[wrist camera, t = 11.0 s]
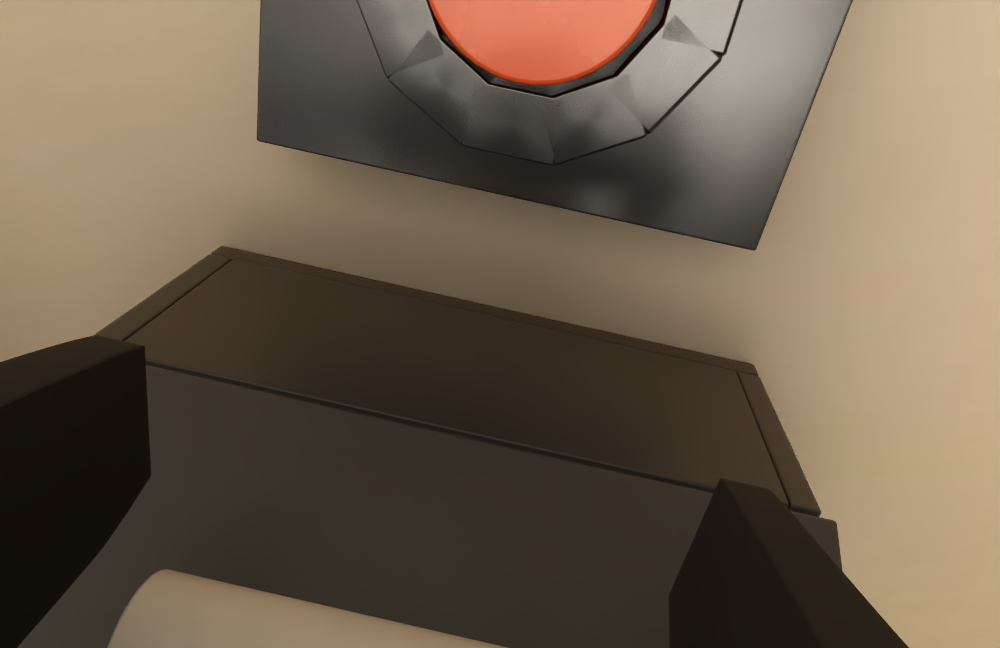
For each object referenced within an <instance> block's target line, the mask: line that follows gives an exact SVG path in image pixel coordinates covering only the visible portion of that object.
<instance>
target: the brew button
mask: <svg viewBox="0 0 1000 648" xmlns="http://www.w3.org/2000/svg"><path fill="white" fill-rule="evenodd" d="M428 1H429V3H430V6H431V8H432V10H433V13H434V15H435V17H436V19H437V21H438V22H439V24H440V26H441V28H442V30H443V31H444V32H445V34H446V35H447V36H448V38H449V39H450V41H451V42H452V43H453V44H454V45H455V46H456V47H457V49H458V50H459V51H460V52H461V53H462V54H463V55H464V56H466V57H467V58H468V59H469V60H470V61H472V62H473V63H474V64H475V65H477V66H478V67H480V68H482V69H483V70H485V71H487V72H488V73H490V74H492V75H495V76H497V77H499V78H501V79H504V80H508V81H511V82H514V83H518V84H525V85H533V86H548V85H556V84H563V83H566V82H570V81H574V80H577V79H580V78H582V77H585V76H587V75H589V74H592V73H593V72H595V71H597V70H598V69H600V68H602V67H604V66H605V65H607V64H608V63H609V62H611V61H612V60H613V59H615V58H616V57H617V56H618V55H619V54H620V53H621V52H623V51H624V50H625V49H626V48H627V47H628V46H629V45H630V44H631V42H632V41H633V40H634V39H635V37H636V36H637V35H638V34H639V32H640V31H641V30H642V28H643V27H644V25H645V23H646V22H647V20H648V18H649V17H650V15H651V13H652V11H653V9H654V7H655V5H656V2H657V0H428Z"/></svg>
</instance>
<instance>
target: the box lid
mask: <svg viewBox="0 0 1000 648" xmlns="http://www.w3.org/2000/svg"><path fill="white" fill-rule="evenodd" d="M146 381H147V401H148V421H149V441H150V461H151V477H150V478H149V480H148V481H147V483H146V484H145V486H144V488H143V489H142V491H141V492H140V494H139V495H138V497H137V499H136V500H135V502H134V503H133V505H132V506H131V508H130V509H129V511H128V513H127V514H126V516H125V517H124V518H123V520H122V521H121V523H120V524H119V526H118V527H117V529H116V530H115V532H114V533H113V534H112V536H111V537H110V539H109V540H108V542H107V543H106V545H105V546H104V547H103V548H102V550H101V551H100V552H99V553H98V554H97V556H96V557H95V558H94V559H93V560H92V562H91V563H90V564H89V565H88V566H87V567H86V569H85V570H84V571H83V572H82V573H81V574H80V576H79V577H78V578H77V579H76V580H75V581H74V583H73V584H72V585H71V586H70V587H69V588H68V590H67V591H66V592H65V593H64V594H63V595H62V597H61V598H60V599H59V600H58V601H57V603H56V604H55V605H54V606H53V607H52V608H51V609H50V611H49V612H48V613H47V614H46V615H45V616H44V617H43V619H42V620H41V621H40V622H39V623H38V624H37V625H36V627H35V628H34V629H33V630H32V631H31V632H30V634H29V635H28V636H27V637H26V638H25V639H24V640H23V642H22V643H21V644H20V645H19V646H18V647H17V648H670V642H669V593H670V591H671V589H672V587H673V584H674V582H675V580H676V577H677V575H678V573H679V571H680V568H681V566H682V564H683V562H684V559H685V557H686V555H687V552H688V550H689V548H690V546H691V543H692V541H693V539H694V536H695V534H696V532H697V530H698V527H699V525H700V523H701V521H702V518H703V516H704V514H705V511H706V509H707V507H708V505H709V502H710V500H711V498H712V496H713V493H709V492H705V491H700V490H696V489H692V488H687V487H683V486H678V485H674V484H669V483H665V482H661V481H656V480H652V479H647V478H643V477H639V476H634V475H630V474H625V473H621V472H616V471H612V470H608V469H603V468H599V467H594V466H590V465H586V464H581V463H577V462H572V461H568V460H563V459H559V458H555V457H550V456H546V455H541V454H537V453H533V452H528V451H524V450H519V449H515V448H510V447H506V446H502V445H497V444H493V443H488V442H484V441H479V440H475V439H471V438H466V437H462V436H457V435H453V434H449V433H444V432H440V431H435V430H431V429H426V428H422V427H418V426H413V425H409V424H404V423H400V422H396V421H391V420H387V419H382V418H378V417H373V416H369V415H365V414H360V413H356V412H351V411H347V410H343V409H338V408H334V407H329V406H325V405H320V404H316V403H312V402H307V401H303V400H298V399H294V398H289V397H285V396H281V395H276V394H272V393H267V392H263V391H259V390H254V389H250V388H245V387H241V386H236V385H232V384H228V383H223V382H219V381H214V380H210V379H206V378H201V377H197V376H192V375H188V374H183V373H179V372H175V371H170V370H166V369H161V368H157V367H153V366H148V365H146ZM791 512H792V514H793V515H794V516H795V517H796V518H797V519H798V520H799V522H800V523H801V524H802V525H803V526H804V527H805V529H806V530H807V531H808V532H809V533H810V534H811V535H812V537H813V538H814V539H815V540H816V541H817V542H818V544H819V545H820V546H821V547H822V548H823V550H824V551H825V552H826V553H827V554H828V555H829V557H830V558H831V559H832V560H833V561H834V562H835V564H836V565H837V566H838V567H839V568H840V569H841V571H842V564H841V556H840V548H839V539H838V531H837V524H836V522H835V521H833V520H829V519H824V518H820V517H815V516H811V515H806V514H802V513H798V512H793V511H791Z"/></svg>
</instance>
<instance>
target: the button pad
mask: <svg viewBox="0 0 1000 648" xmlns="http://www.w3.org/2000/svg"><path fill="white" fill-rule="evenodd" d="M852 1H853V0H657V2H656V5H655V7H654V9H653V11H652V13H651V15H650V17H649V18H648V20H647V22H646V23H645V25H644V27H643V28H642V30H641V31H640V32H639V34H638V35H637V36H636V37H635V39H634V40H633V41H632V42H631V44H630V45H629V46H628V47H627V48H626V49H625V50H624V51H623V52H621V53H620V54H619V55H618V56H617V57H616V58H615V59H613V60H612V61H611V62H609V63H608V64H607V65H605V66H604V67H602V68H600V69H598V70H597V71H595V72H593V73H592V74H589V75H587V76H585V77H582V78H580V79H577V80H574V81H570V82H566V83H563V84H556V85H548V86H533V85H525V84H518V83H514V82H511V81H508V80H504V79H501V78H499V77H497V76H495V75H492V74H490V73H488V72H487V71H485V70H483V69H482V68H480V67H478V66H477V65H475V64H474V63H473V62H472V61H470V60H469V59H468V58H467V57H466V56H464V55H463V54H462V53H461V52H460V51H459V50H458V49H457V47H456V46H455V45H454V44H453V43H452V42H451V41H450V39H449V38H448V36H447V35H446V34H445V32H444V31H443V30H442V28H441V26H440V24H439V22H438V21H437V19H436V17H435V15H434V13H433V10H432V8H431V6H430V3H429V1H428V0H261V8H260V44H259V80H258V116H257V140H258V141H260V142H265V143H269V144H274V145H278V146H283V147H287V148H292V149H296V150H301V151H305V152H310V153H315V154H319V155H324V156H328V157H333V158H337V159H342V160H346V161H351V162H355V163H360V164H364V165H369V166H373V167H378V168H382V169H387V170H391V171H396V172H401V173H405V174H410V175H414V176H419V177H423V178H428V179H432V180H437V181H441V182H446V183H450V184H455V185H459V186H464V187H468V188H473V189H477V190H482V191H487V192H491V193H496V194H500V195H505V196H509V197H514V198H518V199H523V200H527V201H532V202H536V203H541V204H545V205H550V206H554V207H559V208H563V209H568V210H573V211H577V212H582V213H586V214H591V215H595V216H600V217H604V218H609V219H613V220H618V221H622V222H627V223H631V224H636V225H640V226H645V227H649V228H654V229H659V230H663V231H668V232H672V233H677V234H681V235H686V236H690V237H695V238H699V239H704V240H708V241H713V242H717V243H722V244H726V245H731V246H735V247H740V248H745V249H749V250H756V248H757V246H758V243H759V240H760V238H761V235H762V233H763V230H764V227H765V225H766V222H767V220H768V217H769V215H770V212H771V209H772V207H773V204H774V202H775V199H776V197H777V194H778V191H779V189H780V186H781V184H782V181H783V179H784V176H785V173H786V171H787V168H788V166H789V163H790V161H791V158H792V155H793V153H794V150H795V148H796V145H797V143H798V140H799V137H800V135H801V132H802V130H803V127H804V125H805V122H806V119H807V117H808V114H809V112H810V109H811V107H812V104H813V101H814V99H815V96H816V94H817V91H818V89H819V86H820V83H821V81H822V78H823V76H824V73H825V70H826V68H827V65H828V63H829V60H830V58H831V55H832V52H833V50H834V47H835V45H836V42H837V40H838V37H839V34H840V32H841V29H842V27H843V24H844V22H845V19H846V16H847V14H848V11H849V9H850V6H851V4H852Z"/></svg>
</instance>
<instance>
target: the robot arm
mask: <svg viewBox="0 0 1000 648" xmlns="http://www.w3.org/2000/svg"><path fill="white" fill-rule="evenodd" d="M150 477H151V461H150V441H149V421H148V401H147V381H146V361H145V346H143V345H139V344H134V343H130V342H126V341H121V340H117V339H112V338H108V337H104V336H99V335H94V336H90V337H86V338H81V339H77V340H73V341H69V342H66V343H62V344H59V345H55V346H52V347H48V348H45V349H41V350H38V351H35V352H31V353H28V354H25V355H22V356H19V357H15V358H12V359H9V360H6V361H3V362H0V648H17V647H18V646H19V645H20V644H21V643H22V642H23V640H24V639H25V638H26V637H27V636H28V635H29V634H30V632H31V631H32V630H33V629H34V628H35V627H36V625H37V624H38V623H39V622H40V621H41V620H42V619H43V617H44V616H45V615H46V614H47V613H48V612H49V611H50V609H51V608H52V607H53V606H54V605H55V604H56V603H57V601H58V600H59V599H60V598H61V597H62V595H63V594H64V593H65V592H66V591H67V590H68V588H69V587H70V586H71V585H72V584H73V583H74V581H75V580H76V579H77V578H78V577H79V576H80V574H81V573H82V572H83V571H84V570H85V569H86V567H87V566H88V565H89V564H90V563H91V562H92V560H93V559H94V558H95V557H96V556H97V554H98V553H99V552H100V551H101V550H102V548H103V547H104V546H105V545H106V543H107V542H108V540H109V539H110V537H111V536H112V534H113V533H114V532H115V530H116V529H117V527H118V526H119V524H120V523H121V521H122V520H123V518H124V517H125V516H126V514H127V513H128V511H129V509H130V508H131V506H132V505H133V503H134V502H135V500H136V499H137V497H138V495H139V494H140V492H141V491H142V489H143V488H144V486H145V484H146V483H147V481H148V480H149V478H150ZM669 642H670V648H909V647H908V646H907V645H906V644H905V643H904V642H903V641H902V640H901V638H900V637H899V636H898V635H897V634H896V633H895V632H894V631H893V629H892V628H891V627H890V626H889V625H888V624H887V623H886V621H885V620H884V619H883V618H882V617H881V616H880V615H879V613H878V612H877V611H876V610H875V609H874V608H873V607H872V605H871V604H870V603H869V602H868V601H867V600H866V599H865V597H864V596H863V595H862V594H861V593H860V592H859V590H858V589H857V588H856V587H855V586H854V585H853V583H852V582H851V581H850V580H849V579H848V578H847V576H846V575H845V574H844V573H843V572H842V571H841V569H840V568H839V567H838V566H837V565H836V564H835V562H834V561H833V560H832V559H831V558H830V557H829V555H828V554H827V553H826V552H825V551H824V550H823V548H822V547H821V546H820V545H819V544H818V542H817V541H816V540H815V539H814V538H813V537H812V535H811V534H810V533H809V532H808V531H807V530H806V529H805V527H804V526H803V525H802V524H801V523H800V522H799V520H798V519H797V518H796V517H795V516H794V515H793V514H792V512H791V511H790V510H789V509H788V508H787V507H786V506H785V505H784V504H783V502H782V501H781V500H780V499H779V498H778V497H777V496H776V495H775V494H774V493H773V492H772V491H771V490H770V489H767V488H762V487H758V486H754V485H749V484H745V483H741V482H736V481H732V480H727V479H723V478H720V480H719V482H718V484H717V486H716V489H715V491H714V493H713V496H712V498H711V500H710V502H709V505H708V507H707V509H706V511H705V514H704V516H703V518H702V521H701V523H700V525H699V527H698V530H697V532H696V534H695V536H694V539H693V541H692V543H691V546H690V548H689V550H688V552H687V555H686V557H685V559H684V562H683V564H682V566H681V568H680V571H679V573H678V575H677V577H676V580H675V582H674V584H673V587H672V589H671V591H670V593H669Z"/></svg>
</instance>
